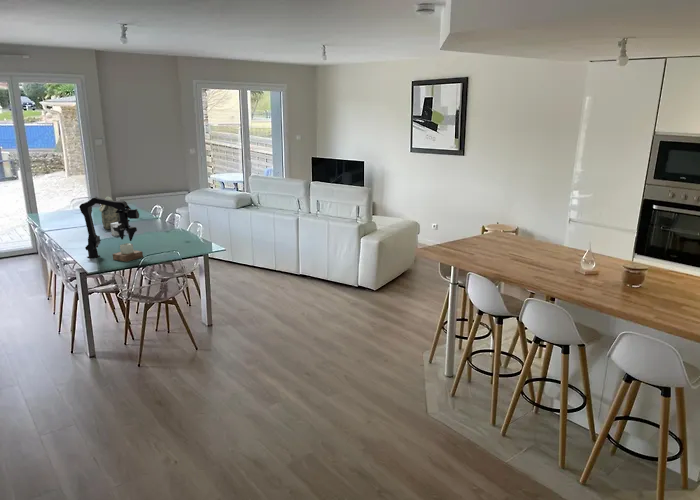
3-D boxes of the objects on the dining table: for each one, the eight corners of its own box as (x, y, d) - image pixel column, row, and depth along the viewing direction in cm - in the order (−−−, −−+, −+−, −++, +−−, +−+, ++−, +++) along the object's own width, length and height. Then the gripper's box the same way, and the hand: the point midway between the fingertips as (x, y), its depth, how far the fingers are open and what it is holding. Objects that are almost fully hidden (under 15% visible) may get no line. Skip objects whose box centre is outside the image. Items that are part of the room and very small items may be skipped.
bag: (100, 225, 472) (96, 196, 465) (119, 223, 480) (115, 195, 473) (103, 230, 454) (99, 200, 446) (123, 228, 462) (119, 198, 455)
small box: (120, 233, 440) (119, 221, 437) (124, 234, 437) (122, 222, 434) (111, 235, 434) (109, 223, 432) (114, 236, 431) (113, 224, 428)
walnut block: (113, 259, 361) (112, 253, 360) (129, 254, 373) (129, 249, 372) (126, 261, 354) (125, 256, 353) (143, 256, 366) (142, 251, 365)
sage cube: (121, 253, 361) (119, 245, 360) (128, 251, 366) (127, 243, 365) (126, 254, 359) (125, 246, 357) (133, 252, 364) (132, 244, 362)
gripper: (105, 219, 360) (108, 241, 364) (122, 222, 351) (125, 244, 355) (119, 217, 369) (121, 237, 373) (136, 219, 360) (138, 240, 364)
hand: (126, 240), depth 366 cm, fingers open, 9 cm apart
